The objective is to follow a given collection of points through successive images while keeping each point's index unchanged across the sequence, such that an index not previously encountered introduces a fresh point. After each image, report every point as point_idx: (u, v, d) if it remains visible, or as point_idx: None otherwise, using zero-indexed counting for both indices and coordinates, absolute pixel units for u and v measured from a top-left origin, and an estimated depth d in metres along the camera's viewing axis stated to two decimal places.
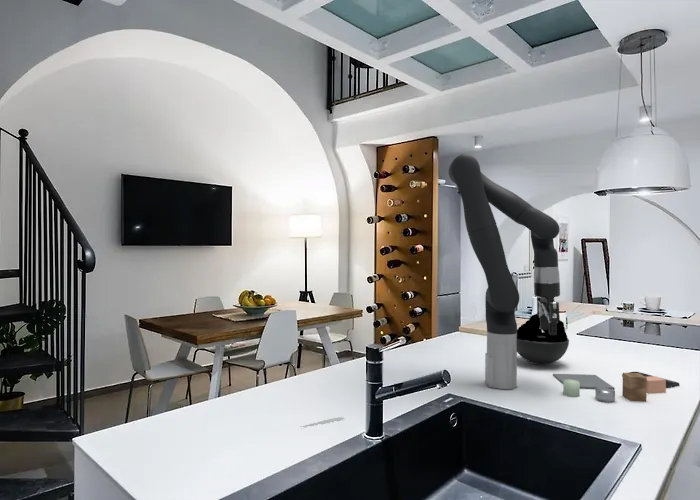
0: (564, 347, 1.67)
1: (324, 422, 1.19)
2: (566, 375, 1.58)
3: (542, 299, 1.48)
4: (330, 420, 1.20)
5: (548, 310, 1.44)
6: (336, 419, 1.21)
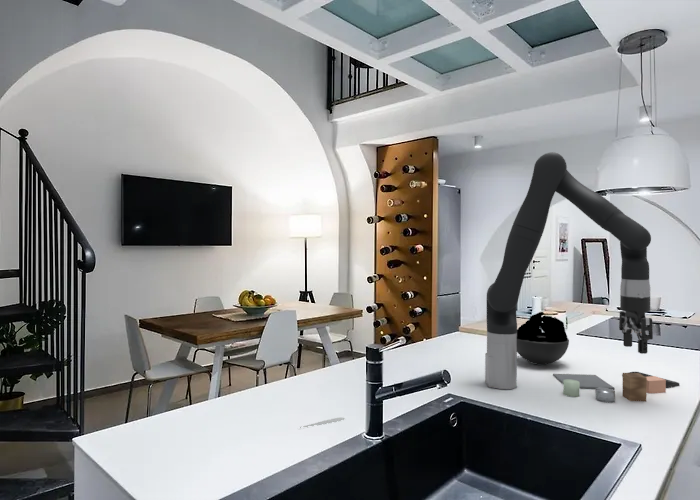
0: (564, 347, 1.67)
1: (324, 422, 1.18)
2: (566, 375, 1.58)
3: (629, 314, 1.38)
4: (330, 420, 1.20)
5: (637, 326, 1.34)
6: (336, 419, 1.20)
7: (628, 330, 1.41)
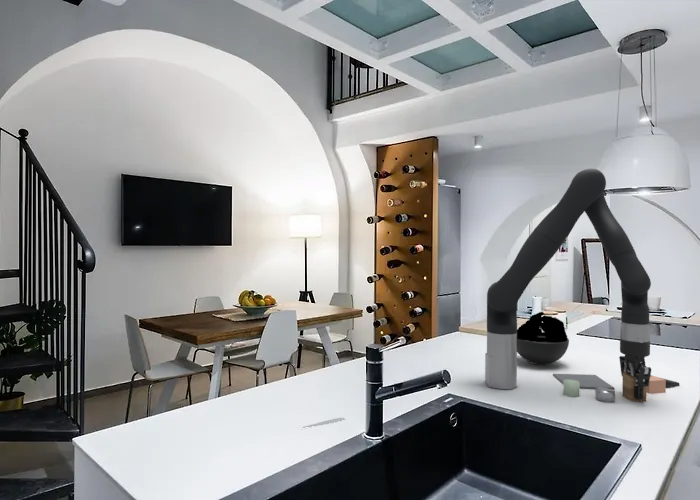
0: (564, 347, 1.67)
1: (325, 423, 1.18)
2: (566, 375, 1.58)
3: (628, 357, 1.38)
4: (331, 421, 1.19)
5: (636, 371, 1.34)
6: (336, 419, 1.20)
7: None
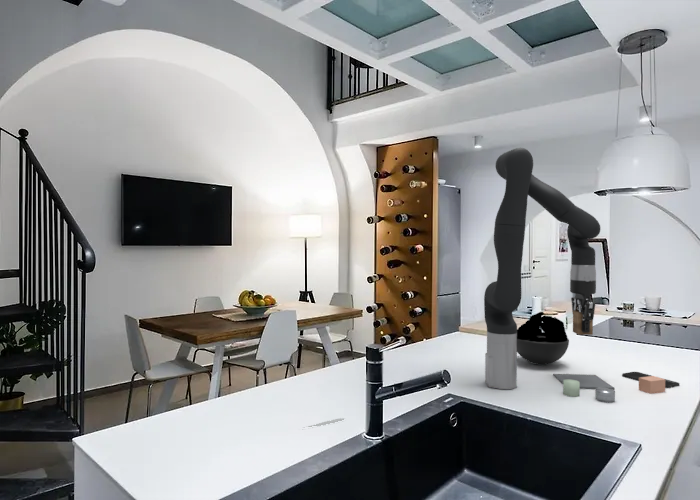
0: (564, 347, 1.67)
1: (325, 423, 1.18)
2: (566, 375, 1.58)
3: (577, 296, 1.53)
4: (331, 421, 1.19)
5: (583, 308, 1.50)
6: (337, 420, 1.20)
7: None
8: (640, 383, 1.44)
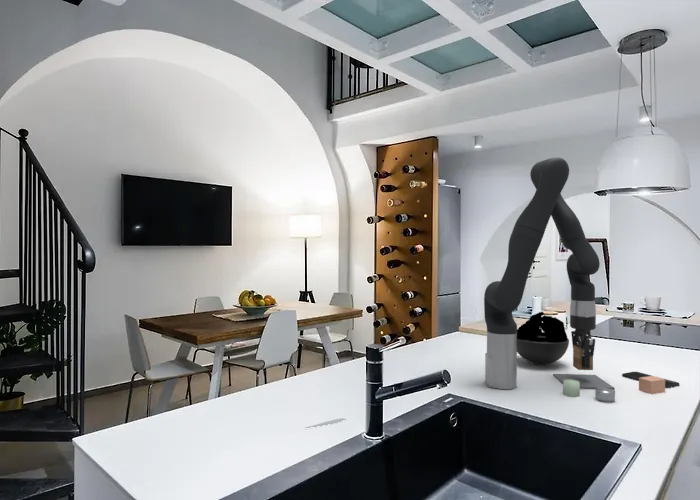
0: (564, 347, 1.67)
1: (326, 423, 1.18)
2: (566, 375, 1.58)
3: (577, 331, 1.53)
4: (332, 421, 1.19)
5: (583, 343, 1.50)
6: (337, 420, 1.20)
7: None
8: (640, 384, 1.44)
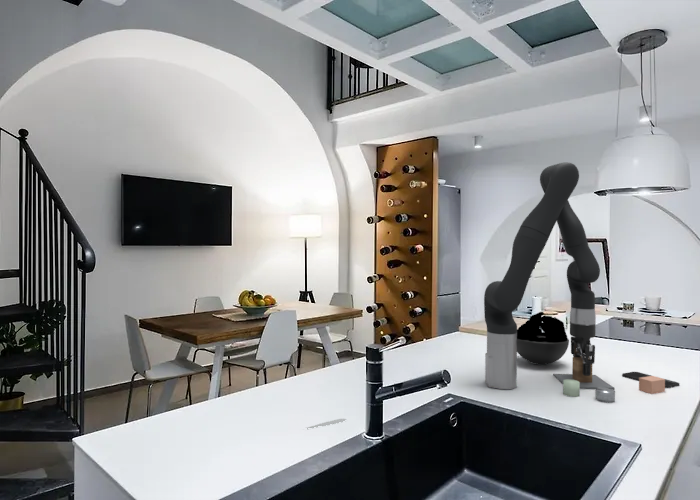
0: (564, 347, 1.67)
1: (326, 424, 1.17)
2: (566, 375, 1.58)
3: (577, 338, 1.54)
4: (332, 422, 1.19)
5: (583, 351, 1.50)
6: (338, 420, 1.20)
7: (578, 354, 1.56)
8: (640, 384, 1.44)
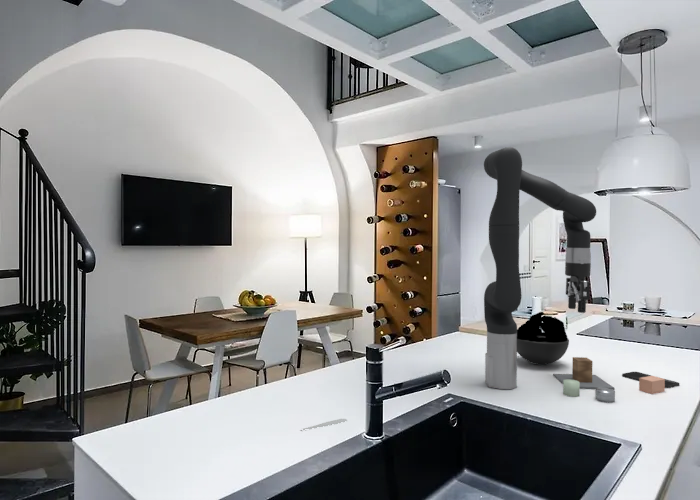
0: (564, 347, 1.67)
1: (327, 424, 1.17)
2: (566, 375, 1.58)
3: (572, 279, 1.55)
4: (333, 422, 1.19)
5: (578, 289, 1.51)
6: (338, 420, 1.19)
7: (572, 294, 1.58)
8: (640, 384, 1.44)
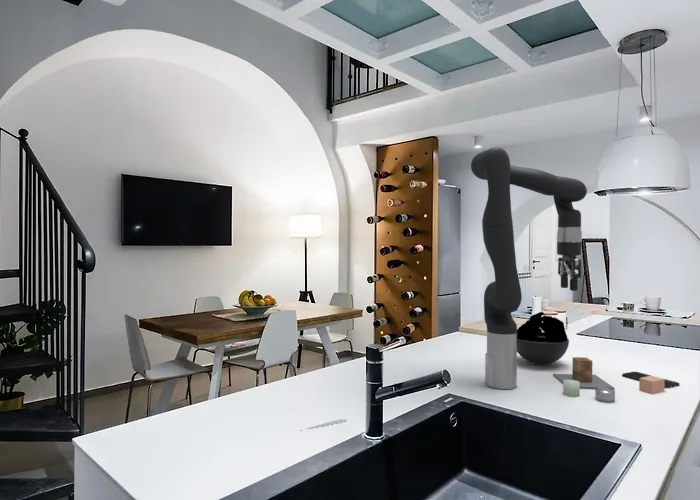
0: (564, 347, 1.67)
1: (327, 424, 1.17)
2: (566, 375, 1.58)
3: (564, 258, 1.57)
4: (333, 422, 1.18)
5: (570, 267, 1.53)
6: (339, 421, 1.19)
7: (565, 273, 1.60)
8: (640, 384, 1.44)
